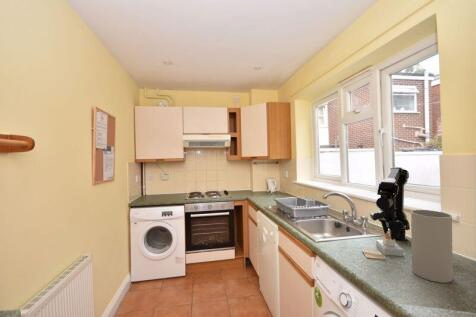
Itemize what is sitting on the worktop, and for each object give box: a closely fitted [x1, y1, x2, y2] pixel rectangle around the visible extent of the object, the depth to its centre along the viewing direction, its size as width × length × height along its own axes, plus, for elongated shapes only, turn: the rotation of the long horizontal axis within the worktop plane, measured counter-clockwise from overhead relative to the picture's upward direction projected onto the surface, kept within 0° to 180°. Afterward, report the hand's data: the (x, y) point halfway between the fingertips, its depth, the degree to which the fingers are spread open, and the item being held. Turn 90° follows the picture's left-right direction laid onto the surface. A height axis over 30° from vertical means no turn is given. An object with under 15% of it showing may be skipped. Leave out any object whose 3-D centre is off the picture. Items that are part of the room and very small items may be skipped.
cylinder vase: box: [410, 209, 454, 284], centre depth 91 cm, size 12×12×25 cm
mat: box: [361, 250, 387, 261], centre depth 110 cm, size 8×8×1 cm
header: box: [375, 239, 404, 257], centre depth 116 cm, size 12×8×3 cm, turn 166°
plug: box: [382, 232, 396, 247], centre depth 115 cm, size 4×4×8 cm
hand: (388, 236), depth 116 cm, fingers open, 9 cm apart
